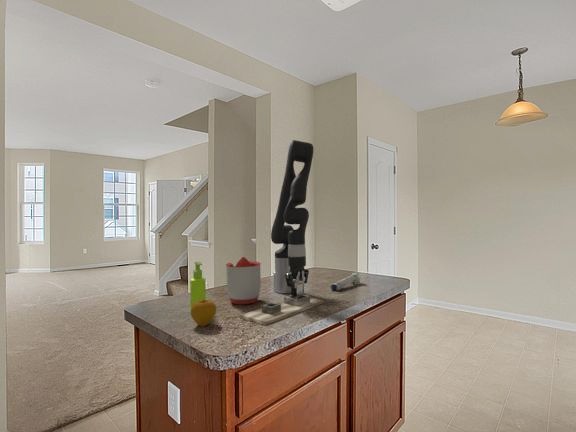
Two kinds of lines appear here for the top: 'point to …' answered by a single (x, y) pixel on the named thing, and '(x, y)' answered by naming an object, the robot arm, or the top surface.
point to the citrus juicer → (243, 281)
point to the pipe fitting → (299, 289)
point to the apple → (203, 312)
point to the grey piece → (346, 282)
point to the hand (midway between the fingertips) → (297, 295)
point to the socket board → (280, 309)
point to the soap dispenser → (197, 285)
